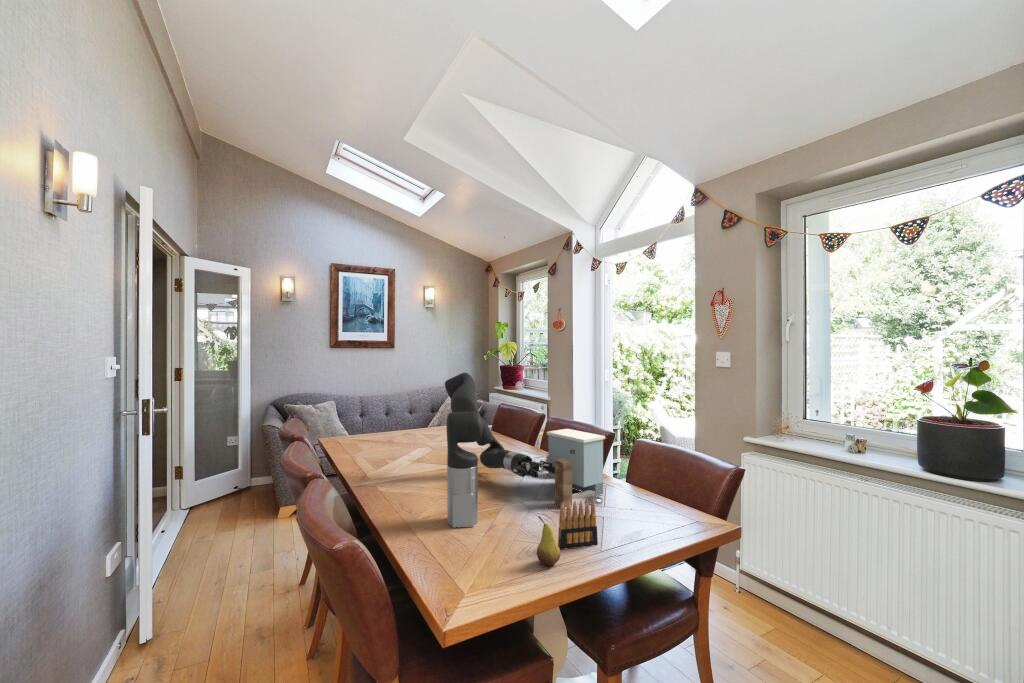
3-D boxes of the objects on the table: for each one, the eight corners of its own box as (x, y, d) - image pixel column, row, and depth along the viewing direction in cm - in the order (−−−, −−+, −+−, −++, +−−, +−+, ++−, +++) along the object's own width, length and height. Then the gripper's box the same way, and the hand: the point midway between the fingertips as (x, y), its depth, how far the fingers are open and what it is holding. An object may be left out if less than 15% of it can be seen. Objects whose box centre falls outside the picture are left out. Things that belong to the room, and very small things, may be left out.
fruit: (558, 570, 109) (558, 520, 109) (534, 567, 111) (534, 517, 111) (562, 560, 115) (562, 511, 115) (539, 557, 116) (539, 509, 116)
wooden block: (555, 505, 154) (555, 460, 154) (586, 495, 164) (586, 453, 164) (563, 508, 151) (563, 462, 151) (595, 498, 161) (595, 455, 161)
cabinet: (545, 488, 173) (545, 432, 173) (567, 482, 180) (567, 428, 180) (582, 501, 158) (582, 440, 158) (605, 494, 165) (605, 436, 165)
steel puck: (604, 505, 155) (604, 500, 155) (590, 506, 154) (590, 501, 154) (599, 500, 160) (599, 495, 160) (585, 501, 159) (585, 496, 159)
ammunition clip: (595, 542, 125) (594, 498, 125) (597, 545, 123) (597, 500, 123) (557, 546, 123) (557, 501, 123) (560, 549, 121) (560, 503, 121)
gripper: (502, 456, 169) (531, 465, 156) (532, 450, 178) (561, 458, 165) (502, 476, 169) (531, 487, 156) (532, 470, 178) (561, 479, 165)
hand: (546, 472), depth 161 cm, fingers open, 8 cm apart
